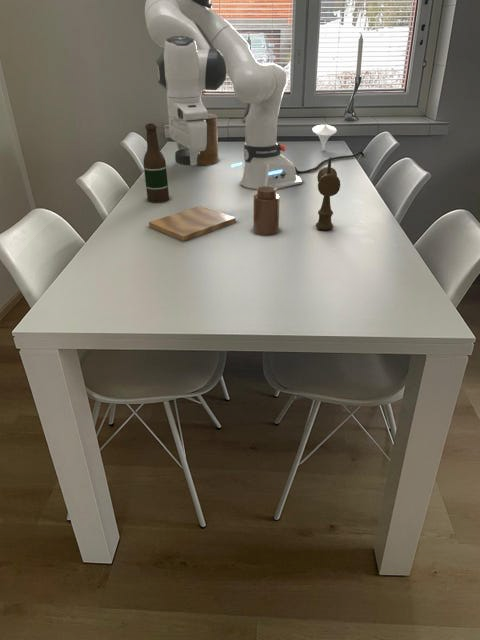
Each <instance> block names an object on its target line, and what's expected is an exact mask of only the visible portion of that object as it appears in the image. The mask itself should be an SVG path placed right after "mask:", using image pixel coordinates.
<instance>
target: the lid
mask: <svg viewBox="0 0 480 640" xmlns="http://www.w3.org/2000/svg"><path fill="white" fill-rule="evenodd" d="M174 155H175V156H174V160H175V163H176V164H178V165H182V166H191V165H190V164H189V158H190V153H189V149H183V150H178V149H177V150H176V151H175V153H174ZM199 162H200V152H199V151H198V156H197V163H199Z"/></svg>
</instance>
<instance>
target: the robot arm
mask: <svg viewBox="0 0 480 640" xmlns="http://www.w3.org/2000/svg"><path fill="white" fill-rule="evenodd" d="M212 8H213V3H212V1H211V0H145V3H144V20H145V25H146V28H147V32H148V34H149V37H150V38H151V40H152V41H153V42H154V43H155V44H156V45H158V46H159V47H161V48H163V49H164V51H162V53H160V55H159V56H158V57H157V59H156V60H155V62H156V66H157V83H158V84H159V85H161V86H162V87H163V88H164V89H165V90H166V103H167V114H168V134H169V137H170V139H171V140H173V141H175V142H176V146H177V151H178V150H183V149H186V148H188V149H189V153H190V158H189V164H190V165H189V166H192V167H193V166H198V165H197V156H198V151H204V150H205V149H206V146H207V125H206V121H205V119H207V118H208V113H209V112H208V110H207V108H206V107H205V105H204V104H203V101H202V94H201V90H205V91H218V89H219V88H220V87H222V86H223V84H224V83H225V81H226V79H227V76H228V77H229V79H230V81H231V83H232V87H233V92H234V95H235V96H236V98H237V99H238V100H239V101H240V102H242V103H246V104H250V107H249V110H248V114H247V115H246V118H245V121H244V139H245V140H244V143H243V159H244V160H243V161H244V165H243V161H242V162H238V163H233V164H231V165H230V166H231V168H235V167H238V166H242V165H243V174H242V178H241V182H240V184H241V186H243V187H244V188H247V189H254V190H257V189H258V188H259V187H266V186H267V187H274V188H276V190H281V189H284V188H289V187H291V186H292V187H293V186H297V185H300V184H302V182H303V180H302V179H303V178H301V177H300V176H298V175H297V174H307V173H310V172H314V171H317V169H319V168H320V167H321V166H323V164H325V163H328V160H329V158H326V159H324V160H321V162H319V163H318V164H317V165H316V166H314V167H312V168H309V169H305V170H298V168H297V167H296V166H295V165H294V163H293V162H292V161H291V160H289V159H288V158H287V157H285V156H284V155H283V154H282V153H281V151H282V152H286V150H287V147H286V145H284V144H279V143H278V140H277V139H278V121H279V120H278V119H279V113H280V108H281V104H282V99H283V95H284V92H285V90H286V88H287V86H288V75H287V72H286V70H285V69H284V68H283V67H282V66H280V65H278V64H276V63H271V62H267V63H263V64H262V63H259V61H257V59H255V57H254V55H253V54H252V51H251V49H250V44H249V43H248V41H246V40H245V38H244V37H243V36H242V35H241V34H240V33H239V31H237V30H236V29H235V28H234V27H233V25H231V24H230V23H229V22H228V21H227V20H226V19H225V18H223V17H222V16H221V15H220V14H219V13H217V12H216V11H214V10H213V9H212ZM185 147H186V148H185ZM358 155H361V156H364V152H363V151H357V152H356V153H354V154H350V155H340V156H334V157H331V161H334V160H335V161H336V160H340V159H341V160H342V159H351V158H355V157H356V156H358Z"/></svg>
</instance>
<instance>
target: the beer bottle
mask: <svg viewBox="0 0 480 640" xmlns="http://www.w3.org/2000/svg"><path fill="white" fill-rule="evenodd" d="M157 127H158V126H157V124H156V123H146V124H145V127H144V128H145V130H146V145H147V146H146V152H145V153H144V156H143V173H144V179H145V181H144V182H145V189H146V197H147V201H148V202H151V203H164V202H166V201H169V200H170V193H169V191H170V190H169V181H168V171H167V169H168V168H167V163H166V158H165V156H164V153H163V152H162V151H161V150H160V145H159V140H158V139H159V138H158V133H157V129H158V128H157Z"/></svg>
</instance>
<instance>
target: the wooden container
mask: <svg viewBox="0 0 480 640" xmlns="http://www.w3.org/2000/svg"><path fill="white" fill-rule="evenodd" d="M205 121H206V125H207V146H206V149H205V150H204V151H199V152H200V162H199V163H197V165H196V166H207V165H213V164H216V163H217V162H219V139H218V116H217V114H214V113H209V112H208V118H207V119H205ZM185 148H186V147H185ZM186 149H188V148H186Z"/></svg>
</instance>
